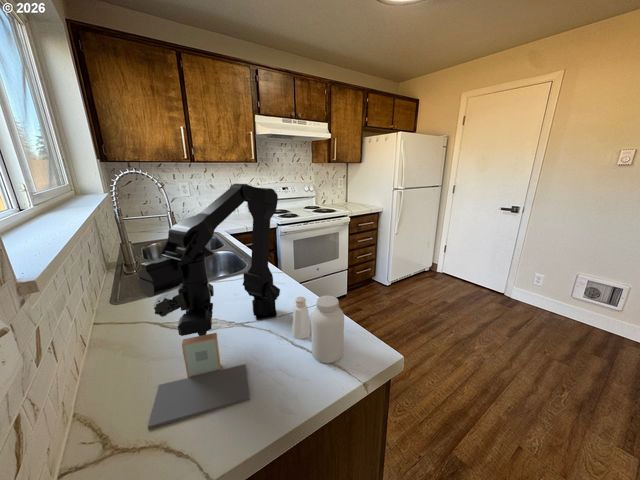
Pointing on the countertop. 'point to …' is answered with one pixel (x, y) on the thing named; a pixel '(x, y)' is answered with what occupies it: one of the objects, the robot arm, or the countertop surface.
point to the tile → (201, 354)
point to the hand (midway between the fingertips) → (202, 336)
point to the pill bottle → (327, 330)
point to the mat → (199, 395)
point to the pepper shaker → (301, 319)
